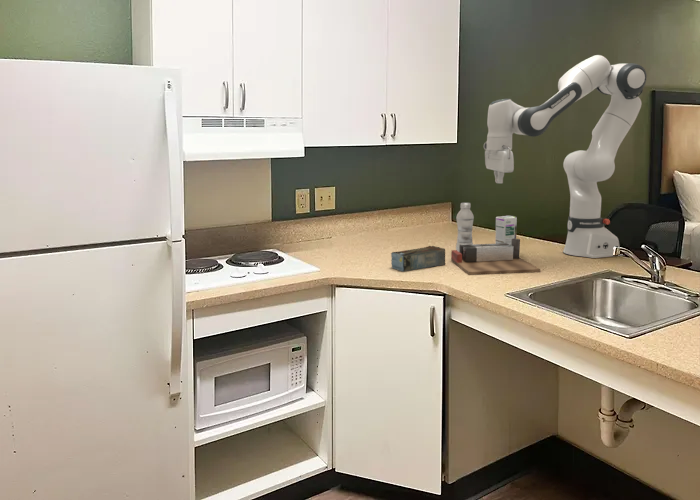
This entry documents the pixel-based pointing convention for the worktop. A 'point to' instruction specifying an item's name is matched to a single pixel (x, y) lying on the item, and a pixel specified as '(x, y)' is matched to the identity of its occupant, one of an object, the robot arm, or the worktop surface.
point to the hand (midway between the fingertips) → (499, 183)
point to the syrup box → (506, 229)
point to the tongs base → (493, 262)
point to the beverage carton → (418, 258)
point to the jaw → (487, 253)
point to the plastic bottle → (464, 225)
